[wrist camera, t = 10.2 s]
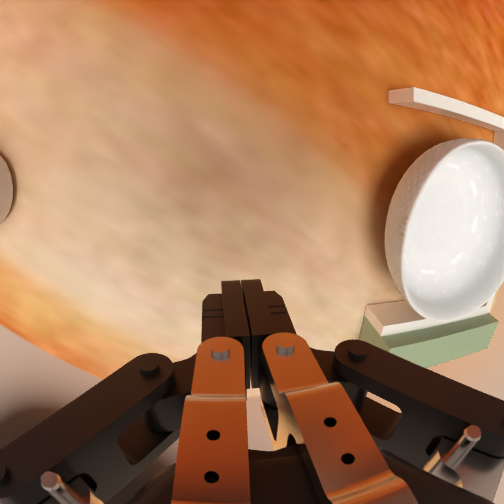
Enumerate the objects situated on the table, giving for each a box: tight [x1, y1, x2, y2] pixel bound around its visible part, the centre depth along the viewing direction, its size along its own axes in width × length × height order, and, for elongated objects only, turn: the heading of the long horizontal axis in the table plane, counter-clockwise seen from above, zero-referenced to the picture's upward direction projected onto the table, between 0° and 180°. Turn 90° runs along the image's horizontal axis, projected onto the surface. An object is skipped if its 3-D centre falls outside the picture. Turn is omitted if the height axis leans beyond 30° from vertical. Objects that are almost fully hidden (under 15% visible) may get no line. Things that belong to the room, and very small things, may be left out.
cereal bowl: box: [384, 138, 504, 322], centre depth 25 cm, size 17×17×7 cm
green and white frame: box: [359, 87, 504, 368], centre depth 26 cm, size 26×17×6 cm, turn 0°
